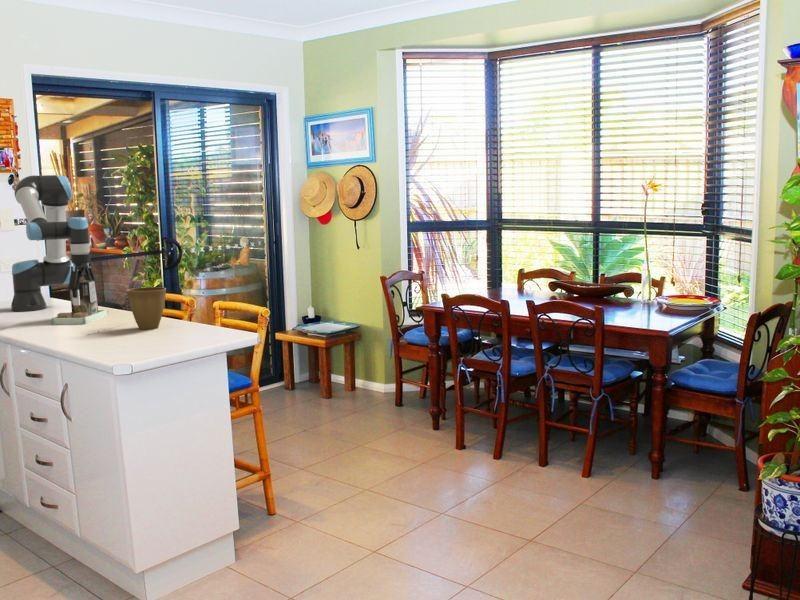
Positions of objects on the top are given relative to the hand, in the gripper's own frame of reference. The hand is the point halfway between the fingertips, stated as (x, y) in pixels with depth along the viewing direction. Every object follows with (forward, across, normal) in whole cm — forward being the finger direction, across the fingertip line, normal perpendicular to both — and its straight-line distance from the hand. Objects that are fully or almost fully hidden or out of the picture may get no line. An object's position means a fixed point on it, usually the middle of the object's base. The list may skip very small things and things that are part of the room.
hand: (84, 302), depth 327 cm
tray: (+8, +4, 0) cm, 9 cm away
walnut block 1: (+7, +12, -3) cm, 14 cm away
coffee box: (+7, 0, 0) cm, 7 cm away
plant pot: (+7, +20, +36) cm, 42 cm away
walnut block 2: (+7, +12, +4) cm, 14 cm away
